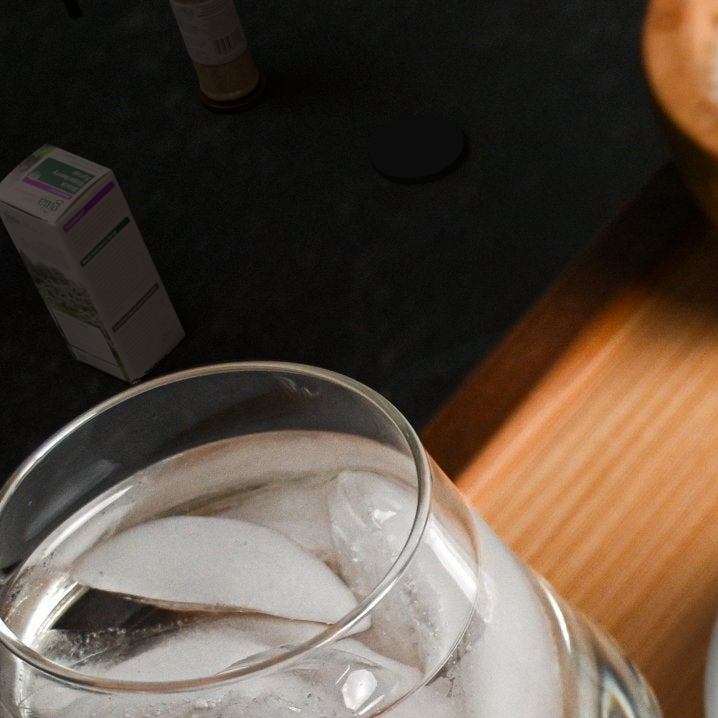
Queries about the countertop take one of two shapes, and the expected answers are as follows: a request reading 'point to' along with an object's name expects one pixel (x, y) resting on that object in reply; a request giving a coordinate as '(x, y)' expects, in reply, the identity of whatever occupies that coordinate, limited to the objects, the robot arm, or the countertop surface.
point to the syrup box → (89, 262)
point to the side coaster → (417, 149)
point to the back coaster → (239, 104)
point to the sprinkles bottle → (217, 47)
